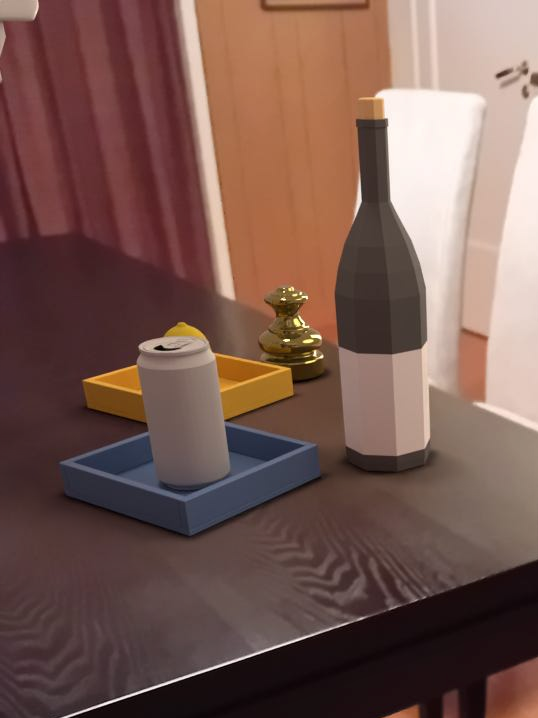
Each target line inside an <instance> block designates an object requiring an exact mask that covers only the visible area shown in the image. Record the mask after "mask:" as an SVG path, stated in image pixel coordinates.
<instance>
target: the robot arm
mask: <svg viewBox="0 0 538 718" xmlns="http://www.w3.org/2000/svg"><path fill="white" fill-rule="evenodd" d="M38 11H39V0H0V57H1V55H2V53H3V48H4V45H5V41H6V38H7V36H6V31H5V26H4V22H15V23H18V22H20V23H21V22H22V23H25V22H33V21H34V20H35V18H36V17H37V14H38ZM2 77H3V76H2V74H1V71H0V85H1V84H2V82H3V78H2Z"/></svg>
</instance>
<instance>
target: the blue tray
mask: <svg viewBox="0 0 538 718" xmlns="http://www.w3.org/2000/svg"><path fill="white" fill-rule="evenodd" d="M224 424H225V431H226V439H227V446H228V454H229V461H230V472H229V473H228V474H227V475H226V476H225V477H224V478H223V479H222V481H220V482H218V483H216V484H213V485H211V486H209V487H206V488H203V489H197V490H177V489H173V488H170V487H168V486H167V485H166V483H163V482H161V481H160V480H159V479H158V478H157V476H156V471H155V466H154V460H153V454H152V448H151V443H150V437H149V431H148V430H147V431H146V432H143V433H139V434H137V435H134V436H131V437H129V438H125V439H123V440H120V441H116V442H114V443H112V444H108V445H106V446H103V447H100V448H97V449H93V450H92V451H88V452H86V453H83V454H80V455H76V456H74V457H71V458H69V459H68V458H67V459H66V460H63V461H60V462H58V465H59V471H60V474H61V479H62V483H63V487H64V493H65V496H68V497H69V498H70V497H71V498H73V499H76V500H79V501H83V502H86V503H88V504H92V505H94V506H97V507H99V508H103V509H107V510H110V511H113V512H116V513H119V514H122V515H125V516H127V517H131V518H134V519H137V520H139V521H142V522H147V523H149V524H151V525H155V526H157V527H161V528H164V529H167V530H169V531H172V532H176V533H179V534H182V535H185V536H188V537H191V536H192V537H193V536H194V535H196V534H198V533H200V532H203V531H204V530H207V529H209V528H211V527H214V526H215V525H218V524H220V523H222V522H224V521H226V520H228V519H231V518H233V517H235V516H237V515H239V514H241V513H244V512H246V511H248V510H250V509H252V508H255V507H256V506H259V505H261V504H263V503H265V502H267V501H270V500H272V499H274V498H277V497H278V496H280V495H282V494H284V493H287V492H289V491H292V490H294V489H296V488H298V487H300V486H302V485H304V484H306V483H308V482H311V481H313V480H315V479H317V478H320V477H321V467H320V458H319V457H320V456H319V446H318V444H317V443H312V442H309V441H306V440H301V439H297V438H293V437H289V436H285V435H281V434H276V433H272V432H268V431H265V430H260V429H257V428H252V427H248V426H245V425H240V424H236V423H233V422H228V421H224Z"/></svg>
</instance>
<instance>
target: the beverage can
mask: <svg viewBox="0 0 538 718" xmlns="http://www.w3.org/2000/svg"><path fill="white" fill-rule="evenodd" d="M206 339H207V338H206ZM206 339H204V338H200V337H193V336H173V337H164V336H163V337H158V338H152V339H149V340H146V341H144V342H142V343H140V344H139V345H138V351H139V352H140V354H139V355H138V358H137V360H136V365H137V368H138V374H139V380H140V385H141V391H142V397H143V403H144V408H145V414H146V420H147V423H146V424H147V432H148V431H149V437H150V443H151V448H152V454H153V460H154V466H155V471H156V476H157V478H158V479H159V480H160V481H161V482H163V483H166V485H167V486H168V487H170V488H173V489H177V490H197V489H203V488H206V487H209V486H211V485H213V484H216V483H218V482H220V481H222V479H223V478H224V477H225V476H226V475H227V474H228V473H229V472H230V461H229V454H228V446H227V439H226V431H225V424H224V422H225V420H224V416H223V409H222V402H221V394H220V387H219V379H218V372H217V364H216V357H215V355H214V354H213V353H214V352H213V351H212V349H211V350H210V349H209V345H210V341H209V340H208V339H207V340H206Z"/></svg>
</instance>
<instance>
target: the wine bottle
mask: <svg viewBox="0 0 538 718" xmlns="http://www.w3.org/2000/svg"><path fill="white" fill-rule="evenodd" d="M357 107H358V118H355V128H356V129H357V144H358V145H357V147H358V163H359V180H360V198H361V202H360V204H359V208H358V210H357V212H356V215H355V217H354V220H353V222H352V224H351V227H350V229H349V231H348V234H347V236H346V238H345V241H344V244H343V247H342V251H341V255H340V258H339V262H338V265H337V271H336V277H335V278H336V279H335V285H334V307H335V320H336V332H337V333H336V335H337V347H338V358H339V359H338V361H339V374H340V375H339V376H340V388H341V389H340V390H341V401H342V414H343V429H344V442H345V453H346V458H347V462H348V463H351V464H352V465H354V466H356V467H358V468H360V469H362V470H364V471H369V472H370V471H371V472H394V473H398V472H402V471H405V470H409V469H413V468H416V467H419V466H424V465H425V464H426V462H427V459H428V457H429V455H430V451H431V421H430V420H431V418H430V417H431V416H430V386H429V385H430V383H429V381H430V380H429V351H428V350H429V349H428V347H429V346H428V318H427V317H428V315H427V313H428V312H427V287H426V281H425V278H424V274H423V270H422V265H421V263H420V260H419V257H418V254H417V251H416V248H415V246H414V243H413V240H412V238H411V237H410V235H409V233H408V231H407V229H406V227H405V225H404V223H403V222H402V220H401V218H400V216H399V214H398V213H397V210H396V209H395V206H394V204H393V202H392V199H391V180H390V158H389V157H390V156H389V133H388V132H389V131H388V127H389V118H388V117H387V118H386V115H385V111H386V110H385V98H384V97H359V98H358V99H357Z"/></svg>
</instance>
